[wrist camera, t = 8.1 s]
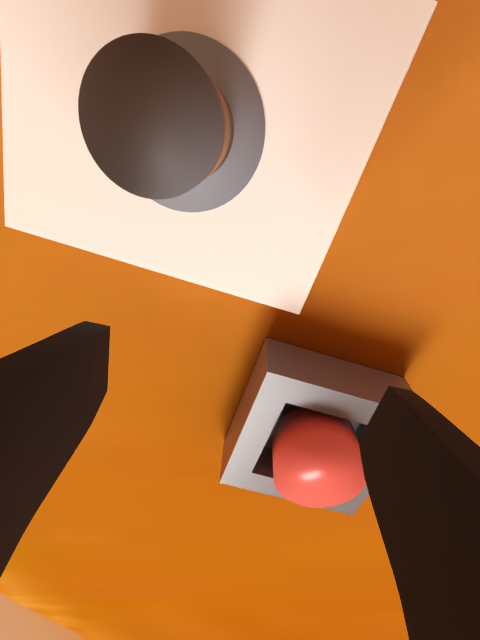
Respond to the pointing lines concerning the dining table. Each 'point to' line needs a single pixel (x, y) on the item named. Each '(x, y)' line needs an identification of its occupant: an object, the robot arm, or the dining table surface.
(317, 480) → the button
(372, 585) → the dining table surface
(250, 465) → the button housing
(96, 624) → the dining table surface
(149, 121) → the grey rounded cylinder
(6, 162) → the paper sheet
